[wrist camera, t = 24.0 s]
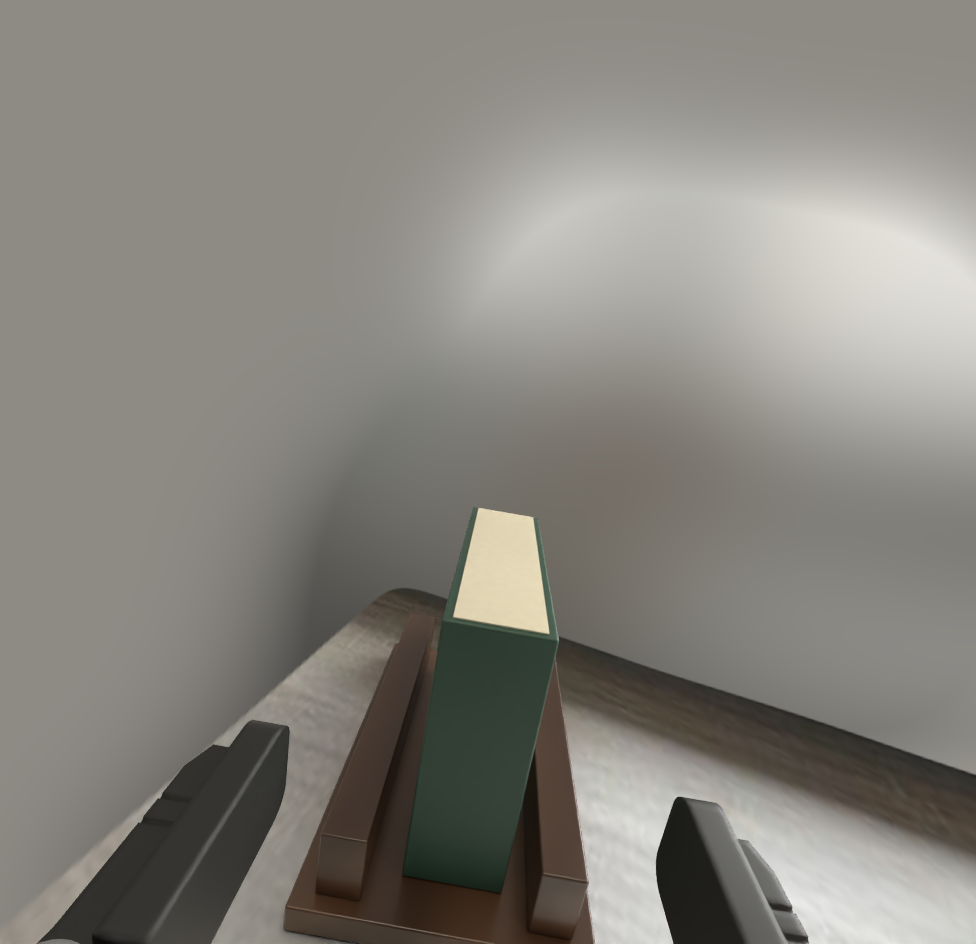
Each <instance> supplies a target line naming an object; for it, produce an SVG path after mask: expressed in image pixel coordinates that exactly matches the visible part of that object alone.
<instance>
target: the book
mask: <svg viewBox="0 0 976 944" xmlns="http://www.w3.org/2000/svg"><path fill="white" fill-rule="evenodd" d="M558 644H559V639H558V633H557V627H556V622H555V615H554V610H553V604H552V598H551V592H550V586H549V580H548V574H547V569H546V564H545V557H544V551H543V545H542V539H541V533H540V528H539V522H538V519H537V518H533V517H528V516H522V515H516V514H510V513H505V512H499V511H493V510H488V509H482V508H475V507H474V508H473V510H472V513H471V517H470V521H469V524H468V528H467V531H466V535H465V539H464V542H463V547H462V550H461V553H460V557H459V561H458V564H457V568H456V572H455V575H454V579H453V582H452V586H451V590H450V594H449V597H448V601H447V604H446V608H445V612H444V615H443V619H442V624H441V630H440V636H439V643H438V649H437V655H436V662H435V668H434V674H433V681H432V687H431V694H430V700H429V706H428V713H427V719H426V725H425V732H424V738H423V744H422V751H421V757H420V763H419V770H418V776H417V782H416V789H415V795H414V801H413V808H412V814H411V820H410V827H409V833H408V840H407V846H406V852H405V859H404V865H403V871H402V872H403V875H404V876H409V877H414V878H420V879H425V880H431V881H436V882H442V883H447V884H452V885H458V886H463V887H469V888H474V889H480V890H485V891H490V892H496V893H501V892H502V889H503V885H504V880H505V876H506V872H507V867H508V863H509V859H510V854H511V850H512V845H513V841H514V837H515V832H516V828H517V823H518V819H519V815H520V810H521V806H522V802H523V797H524V793H525V788H526V784H527V780H528V775H529V771H530V767H531V762H532V758H533V753H534V749H535V745H536V740H537V736H538V732H539V727H540V723H541V718H542V714H543V710H544V705H545V701H546V697H547V692H548V688H549V683H550V679H551V675H552V670H553V666H554V662H555V657H556V653H557V648H558Z"/></svg>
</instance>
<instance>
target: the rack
mask: <svg viewBox="0 0 976 944" xmlns="http://www.w3.org/2000/svg"><path fill="white" fill-rule="evenodd" d="M434 624H435V618H434V617H428V616H422V615H417V614H410V616H409V619H408V621H407V623H406V626H405V628H404V631H403V633H402V636H401V638H400V641H399V643H398V644H397V643H396V644H395V645H394V648H393V650H392V652H391V655H390V657H389V660H388V662H387V664H386V667H385V669H384V672H383V674H382V676H381V679H380V681H379V684H378V686H377V688H376V691H375V693H374V695H373V698H372V700H371V703H370V705H369V707H368V710H367V712H366V715H365V717H364V719H363V722H362V724H361V727H360V729H359V731H358V734H357V736H356V739H355V741H354V743H353V746H352V748H351V750H350V753H349V755H348V758H347V760H346V762H345V765H344V767H343V770H342V772H341V774H340V777H339V779H338V782H337V784H336V786H335V789H334V791H333V794H332V796H331V798H330V801H329V803H328V806H327V808H326V810H325V813H324V815H323V817H322V820H321V822H320V825H319V827H318V829H317V832H316V834H315V837H314V839H313V841H312V844H311V846H310V849H309V851H308V853H307V856H306V858H305V861H304V863H303V865H302V868H301V870H300V873H299V875H298V877H297V880H296V882H295V884H294V887H293V889H292V892H291V894H290V896H289V899H288V901H287V904H286V906H285V916H284V929H285V930H289V931H295V932H300V933H306V934H311V935H317V936H322V937H327V938H333V939H338V940H344V941H349V942H355V943H360V944H595V939H594V932H593V925H592V918H591V912H590V905H589V898H588V891H587V887H588V884H589V880H588V873H587V867H586V860H585V853H584V847H583V840H582V833H581V827H580V820H579V814H578V807H577V800H576V794H575V787H574V780H573V774H572V767H571V760H570V754H569V747H568V740H567V734H566V727H565V720H564V714H563V707H562V700H561V694H560V687H559V681H558V674H557V667H556V661H555V662H554V666H553V670H552V675H551V679H550V683H549V688H548V692H547V697H546V701H545V705H544V710H543V714H542V718H541V723H540V727H539V732H538V736H537V740H536V745H535V749H534V753H533V758H532V762H531V767H530V771H529V775H528V780H527V784H526V788H525V793H524V797H523V802H522V806H521V810H520V815H519V819H518V823H517V828H516V832H515V837H514V841H513V845H512V850H511V854H510V859H509V863H508V867H507V872H506V876H505V880H504V885H503V889H502V892H501V893H496V892H490V891H485V890H480V889H474V888H469V887H463V886H458V885H452V884H447V883H442V882H436V881H431V880H425V879H420V878H414V877H409V876H404V875H403V872H402V871H403V865H404V859H405V852H406V846H407V840H408V833H409V827H410V820H411V814H412V808H413V801H414V795H415V789H416V782H417V776H418V770H419V763H420V757H421V751H422V744H423V738H424V732H425V725H426V719H427V713H428V706H429V700H430V694H431V687H432V681H433V674H434V668H435V662H436V655H437V650H431V643H432V637H433V630H434Z"/></svg>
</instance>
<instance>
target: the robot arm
mask: <svg viewBox="0 0 976 944" xmlns="http://www.w3.org/2000/svg"><path fill="white" fill-rule="evenodd" d="M289 734H290V731H289V727H288V726H285V725H279V724H273V723H268V722H262V721H256V720H251V721H249V722H248V723H247V724H246V725H245V726H244V727H243V729H242V730H241V731H240V733H239V734H238V736H237V737H236V738H235V740H234V741H233V742H232V744H231V745H230V746H229V747H224V746H218V745H212V746H211V747H210V748H208V749H207V750H205V751H204V752H203V753H201V754H200V755H199V756H197V757H196V758H194V759H193V760H192V761H190V762H189V763H188V764H186V765H185V766H184V767H183V768H182V770H181V771H180V772H179V773H178V774H177V776H176V777H175V778H174V779H173V781H172V782H171V783H170V784H169V786H168V787H167V788H166V789H165V790H164V792H163V794H162V796H161V798H160V799H159V798H158V799H157V800H156V802H155V803H154V804H153V805H152V807H151V808H150V809H149V810H148V811H147V813H146V814H145V815H144V817H143V820H142V821H141V823H138V824H137V825H136V826H135V827H134V829H133V830H132V831H131V832H130V834H129V835H128V836H127V837H126V839H125V840H124V841H123V842H122V843H121V845H120V846H119V847H118V848H117V850H116V851H115V852H114V853H113V855H112V856H111V857H110V858H109V859H108V861H107V862H106V863H105V864H104V866H103V867H102V868H101V869H100V871H99V872H98V873H97V874H96V875H95V877H94V878H93V879H92V880H91V882H90V883H89V884H88V885H87V887H86V888H85V889H84V890H83V891H82V893H81V894H80V895H79V896H78V898H77V899H76V900H75V901H74V903H73V904H72V905H71V906H70V908H69V909H68V910H67V911H66V912H65V914H64V915H63V916H62V917H61V919H60V920H59V921H58V922H57V923H56V924H55V925H54V927H53V928H52V929H51V930H50V931H49V932H48V933H47V934H46V935H45V936H44V937H43V938H42V939H41V940H40V941H39V942H38V943H37V944H211V942H212V940H213V939H214V937H215V935H216V933H217V931H218V929H219V927H220V925H221V923H222V921H223V919H224V917H225V915H226V913H227V911H228V909H229V908H230V906H231V904H232V902H233V900H234V898H235V896H236V894H237V892H238V890H239V888H240V886H241V884H242V882H243V880H244V879H245V877H246V875H247V873H248V871H249V869H250V867H251V865H252V863H253V861H254V859H255V857H256V855H257V853H258V851H259V849H260V848H261V846H262V844H263V842H264V840H265V838H266V836H267V834H268V832H269V830H270V828H271V826H272V824H273V822H274V820H275V818H276V816H277V813H278V811H279V808H280V805H281V802H282V799H283V795H284V791H285V786H286V774H287V761H288V748H289ZM656 876H657V884H658V890H659V894H660V897H661V901H662V904H663V908H664V911H665V915H666V918H667V922H668V926H669V929H670V933H671V936H672V940H673V943H674V944H809V942H808V936H807V934H806V932H805V930H804V928H803V927H802V925H801V923H800V921H799V919H798V917H797V915H796V914H794V913H793V911H792V905H791V904H790V902H789V900H788V898H787V896H786V894H785V892H784V890H783V888H782V886H781V884H780V883H779V881H778V879H777V877H776V875H775V873H774V871H773V870H772V869H771V868H770V867H769V865H768V864H767V863H766V862H765V861H764V859H763V858H762V857H761V856H760V855H759V853H758V852H757V851H756V850H755V849H754V847H753V846H752V845H751V844H750V843H749V841H746V840H740V839H737V838H736V836H735V833H734V831H733V829H732V827H731V825H730V823H729V821H728V819H727V817H726V815H725V813H724V811H723V809H722V808H721V807H720V806H719V805H718V804H717V803H713V802H707V801H701V800H696V799H690V798H684V797H677V798H676V799H675V801H674V803H673V806H672V809H671V812H670V815H669V818H668V821H667V824H666V827H665V830H664V833H663V836H662V839H661V842H660V846H659V849H658V852H657V858H656Z"/></svg>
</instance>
